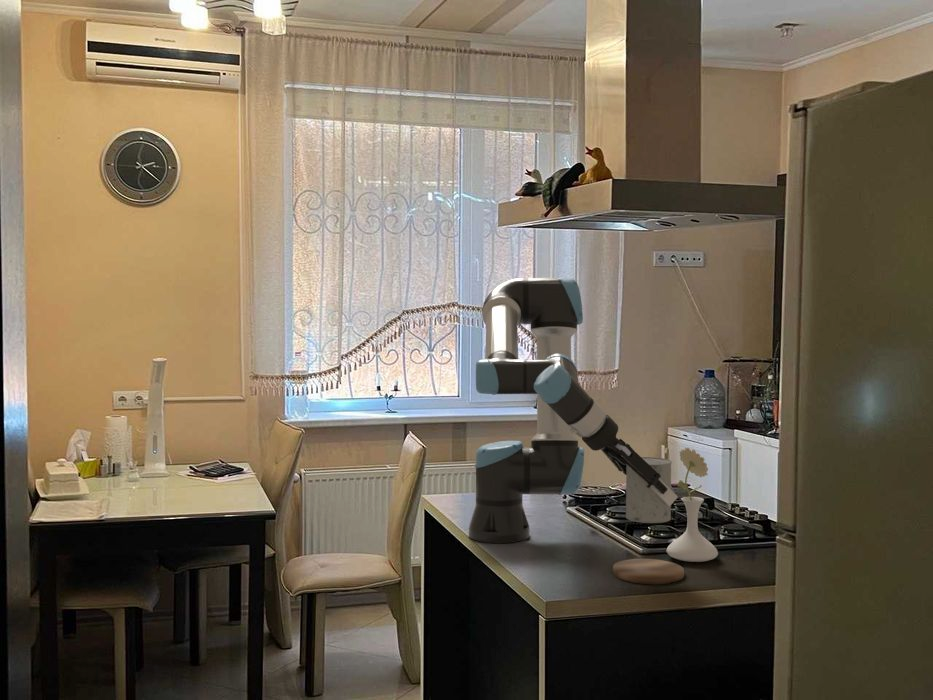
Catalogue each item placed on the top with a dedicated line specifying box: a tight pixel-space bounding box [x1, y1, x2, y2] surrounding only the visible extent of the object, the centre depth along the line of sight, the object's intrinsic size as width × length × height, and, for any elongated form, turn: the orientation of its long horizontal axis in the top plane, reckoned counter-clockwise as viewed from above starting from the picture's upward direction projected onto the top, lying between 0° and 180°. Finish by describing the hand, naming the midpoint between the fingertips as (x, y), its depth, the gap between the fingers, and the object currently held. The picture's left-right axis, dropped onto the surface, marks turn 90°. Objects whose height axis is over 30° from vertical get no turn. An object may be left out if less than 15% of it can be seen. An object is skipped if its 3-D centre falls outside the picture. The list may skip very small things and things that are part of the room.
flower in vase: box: [665, 447, 719, 563], centre depth 221 cm, size 13×11×25 cm
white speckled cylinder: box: [625, 456, 672, 524], centre depth 208 cm, size 10×10×12 cm
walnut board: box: [612, 558, 685, 585], centre depth 209 cm, size 15×15×1 cm
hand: (661, 496), depth 209 cm, fingers closed on white speckled cylinder, 9 cm apart
